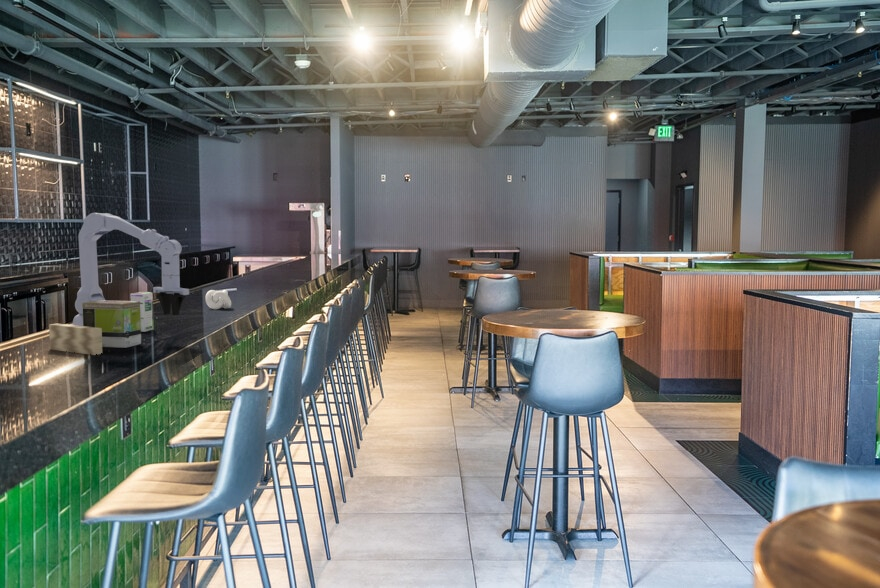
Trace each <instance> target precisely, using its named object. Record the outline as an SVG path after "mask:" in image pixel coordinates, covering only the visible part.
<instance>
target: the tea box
mask: <svg viewBox="0 0 880 588" xmlns="http://www.w3.org/2000/svg"><path fill="white" fill-rule="evenodd" d="M83 326H86V327H96V328H102V348H118V349H119V348H121V349H123V348H130V347H135V346H138V345H141V344H142V332H141V318H140V301H131V300H107V299H105V300H100V301H92V302H85V303H83Z"/></svg>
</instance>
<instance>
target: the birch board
mask: <svg viewBox="0 0 880 588" xmlns="http://www.w3.org/2000/svg"><path fill="white" fill-rule="evenodd" d="M48 327H49V330H48V332H49V350H52V351H61V352H66V351H67V353H74V352H75V353H74V354H83V355H90V354H91V356H96V354H97V355H101V353H102V354H103V347H102V328H96V327H86V326H77V325H73V324H67V323H51V324H48Z"/></svg>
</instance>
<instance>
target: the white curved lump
mask: <svg viewBox="0 0 880 588" xmlns="http://www.w3.org/2000/svg"><path fill="white" fill-rule="evenodd" d="M228 291H229V290H227V289H223V290H215V289H210V290H208V291H207V292H206V294H205V297H204V298H205V303H206V305H207V306H208V307H209V308H210V309H212V310H220V309H221V308H224V309H230V308H231V307H232V300H231V298H230V296H229V295H228V294H229V292H228Z"/></svg>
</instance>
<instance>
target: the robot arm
mask: <svg viewBox="0 0 880 588" xmlns="http://www.w3.org/2000/svg"><path fill="white" fill-rule="evenodd" d="M80 228H81V229H80V230H79V232H78V235H77V236H78V249H79V250H78V252H79V268H80V269H79V271H80V288H79V290H78V291H77V293H76V299H75V302H74V307H75V310H76V312H78V314H77V315H75V316H74V318H73V320H72V325H77V326H83V303H85V302H92V301H100V300H106V299H105V297H104V294H103V290H102V288H101V287H100V285H99V267H98V252H97V250H98V248H97V241H98V240H99V239H100V238H101V237H102V236H104V235H105V234H108V233H109V232H110V233H111V231H113V230H116V231H117V230H118V231H121V232H122V233H125V234H127V235H130V236H132V237H134V238H136V239H138V240H139V242H140V244H141V245H143V246H145V247H147V248H148V249H151V250H153V251H155V252H157V253H158V254H159V255H160V256H161V286H153V287H152V294H156V298H157V300H158V301H159V303H160V305H161V309H162V312H163V315H165V316H166V315H171V312H172V316H179V315H180V311H181V307H182V305H183V301H184V300H185V298H186V296H187V295H190V288H183V287H181V284H180V283H181V282H180V281H181V280H180V279H181V278H180V273H181V272H180V254H181V253H182V251H183V249H182V248H183V246H182V245H181V243H180V242H179V241H178V240H177V239H170V236H167V235H163V234H160V233H159V232H157V229H154V228H151V229H150V228H148V229H146V230H144V229H142V228H140V227H138V226H136V225H135V224H132V223H131V222H129V221H127V220H125V219H124V218H121V217H120V216H118V215H113V214H112V213H109V212H105V213H104V212H103V213H101V212H100V213H99V212H91V213H89V214H88V215H87V216H86V217H85V218H83V224H82V226H81V227H80ZM157 293H158V294H157Z"/></svg>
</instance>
